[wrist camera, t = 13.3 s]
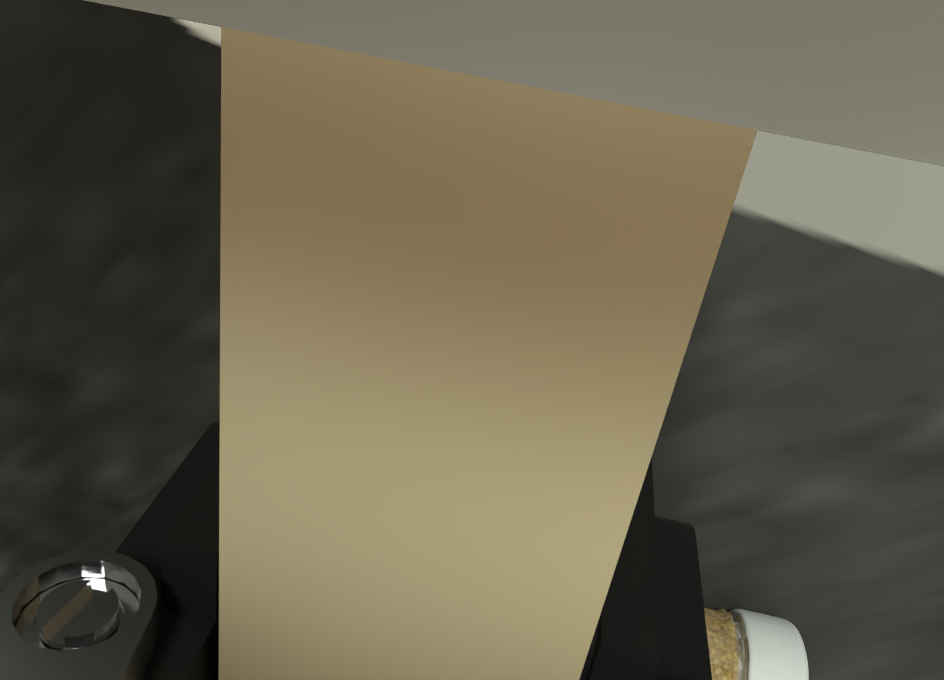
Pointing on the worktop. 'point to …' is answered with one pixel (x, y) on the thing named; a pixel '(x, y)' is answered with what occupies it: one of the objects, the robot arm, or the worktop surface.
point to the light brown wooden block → (486, 295)
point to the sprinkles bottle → (754, 647)
